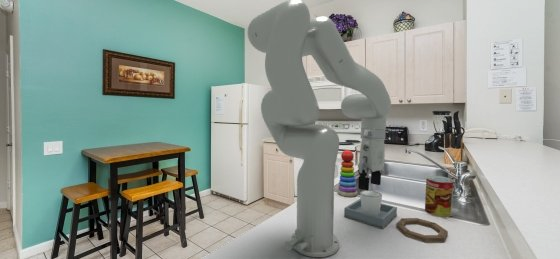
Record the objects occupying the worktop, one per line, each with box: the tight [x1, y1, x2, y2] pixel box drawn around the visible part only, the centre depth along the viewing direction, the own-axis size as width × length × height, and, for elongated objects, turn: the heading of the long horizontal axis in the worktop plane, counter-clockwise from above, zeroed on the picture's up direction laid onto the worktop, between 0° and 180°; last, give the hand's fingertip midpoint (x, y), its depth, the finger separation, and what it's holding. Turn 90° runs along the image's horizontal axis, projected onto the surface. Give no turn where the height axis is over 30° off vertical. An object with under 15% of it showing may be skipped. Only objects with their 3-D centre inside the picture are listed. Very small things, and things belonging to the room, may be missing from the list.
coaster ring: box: [395, 217, 449, 244], centre depth 72 cm, size 12×12×1 cm
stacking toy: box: [337, 149, 358, 198], centre depth 103 cm, size 8×8×19 cm
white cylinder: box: [360, 189, 383, 217], centre depth 82 cm, size 7×7×7 cm
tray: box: [343, 197, 398, 230], centre depth 82 cm, size 13×13×3 cm
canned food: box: [424, 175, 455, 218], centre depth 85 cm, size 8×8×12 cm
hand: (369, 186), depth 81 cm, fingers open, 9 cm apart
